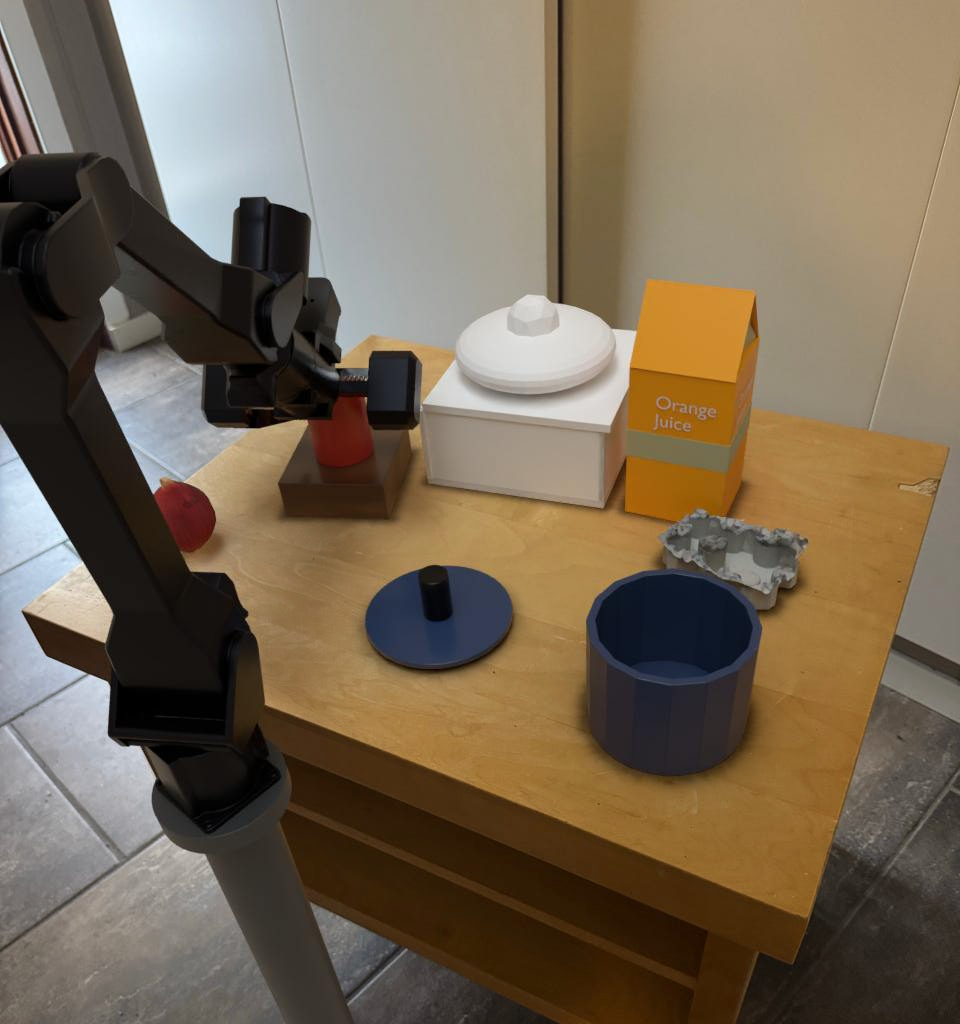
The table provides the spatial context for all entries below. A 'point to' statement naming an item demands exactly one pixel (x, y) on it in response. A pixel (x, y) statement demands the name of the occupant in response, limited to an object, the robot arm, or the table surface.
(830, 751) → the table surface
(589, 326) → the white box with dome
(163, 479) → the onion
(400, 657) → the lid
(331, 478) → the block
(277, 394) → the robot arm
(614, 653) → the pot
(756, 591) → the egg carton
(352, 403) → the tomato can
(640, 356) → the orange juice
